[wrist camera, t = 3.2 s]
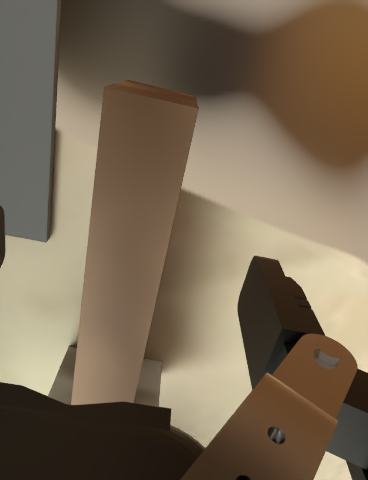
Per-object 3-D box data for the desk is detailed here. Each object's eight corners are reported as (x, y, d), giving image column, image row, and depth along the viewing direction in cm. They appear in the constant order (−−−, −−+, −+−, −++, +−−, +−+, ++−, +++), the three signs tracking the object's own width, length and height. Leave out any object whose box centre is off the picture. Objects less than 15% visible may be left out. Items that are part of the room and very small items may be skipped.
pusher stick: (67, 359, 23) (38, 431, 18) (93, 72, 15) (55, 75, 11) (158, 374, 23) (152, 448, 19) (227, 103, 16) (244, 118, 11)
